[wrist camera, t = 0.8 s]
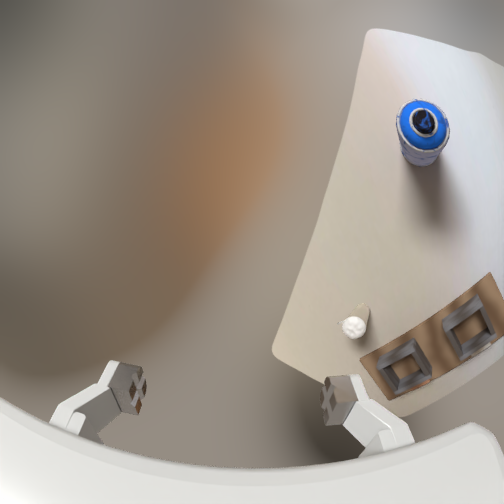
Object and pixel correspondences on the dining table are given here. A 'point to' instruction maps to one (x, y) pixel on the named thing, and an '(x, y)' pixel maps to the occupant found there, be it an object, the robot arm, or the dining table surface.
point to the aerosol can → (422, 131)
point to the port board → (439, 341)
